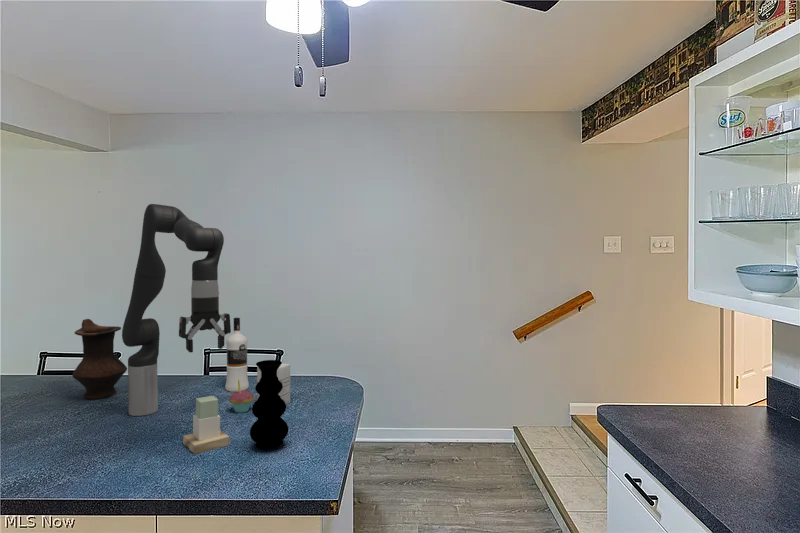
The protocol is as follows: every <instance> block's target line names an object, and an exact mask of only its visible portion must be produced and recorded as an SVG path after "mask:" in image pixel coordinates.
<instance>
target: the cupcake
mask: <svg viewBox="0 0 800 533" xmlns="http://www.w3.org/2000/svg"><path fill="white" fill-rule="evenodd" d="M238 389H239V391H237V392H232V393H231V394H230V395H229V400H228V402H230V404H232V407H233V410H234V412H235V413H246V412H249V410H250V406H251V405H252V403H253V402H254V400H255V397H254V394H253V393H252V392H251V391H248V390H240V381H239V379H238Z"/></svg>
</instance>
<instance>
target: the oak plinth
mask: <svg viewBox="0 0 800 533" xmlns="http://www.w3.org/2000/svg"><path fill="white" fill-rule="evenodd" d="M182 442H183V443H182V444H183V445H184V446H185V445H186V446H187V447H188V448H189V449H188V448H187V447H186V446H185V447H186V448H187V449H188V450H190V451H191V452H192V453H193V454H194V455H198V454H201V453H204V452H208V451H209V452H210V451H213V450H216V449H219V448H223V447H227V446H230V436H229V435H227V433H225V432H223V431H222V430H220V436H219V437H214V438H209V439H205V440H200V441H199V440H198V439H197V438H196V437H195V436H194V435H193V432H192V433H189V434H183V435H182ZM212 449H213V450H212ZM197 453H198V454H197Z"/></svg>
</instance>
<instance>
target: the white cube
mask: <svg viewBox="0 0 800 533" xmlns="http://www.w3.org/2000/svg"><path fill="white" fill-rule="evenodd" d="M220 431H221V415H219V414H218V416H217V417H212V418H207V419H201V420H200V419H199V418H198V417H197V416H196V413H195V414H193V415H192V433H193V435H194V436H195V437H196V438H197V439H198V440H199V441H200V440H205V439H209V438H214V437H219V436H220Z"/></svg>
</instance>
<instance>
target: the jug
mask: <svg viewBox="0 0 800 533" xmlns="http://www.w3.org/2000/svg"><path fill="white" fill-rule="evenodd" d="M119 331H122V327H121V326H109V325H107V326H106V325H99V324H96V323H95V322H93V320H92V319H90V318H85V319H82V321H81V328H79V329H77V330H75V331H74V335H76V336H80V337H81V340H82V354H83V357H82V359H81V361H80V362H79V364H78V365H77V367H76V368H75V369H74V371H73V373H72V378H73V379H74V380H76V381H77V382H79V384H81V385H82V386H83V387H84V388H85V392H84V394H83V396H82V397H83V399H84V400H91V399H92V400H100V399H104V398H108V397H111V396H114V395H115V394H116V393H117V389H115V388H116V387H115V386H116V384H117V383H118V382H119V380H120V379H122V377H123V375H124V374H125V373H126V372H127V371H128V366H126V365H125V364H124V363H123V361H122V360H120V359H119V358H118V356H116V355H115V352H114V347H115V345H114V343H115V342H114V340H115V336H116V332H119Z"/></svg>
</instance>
